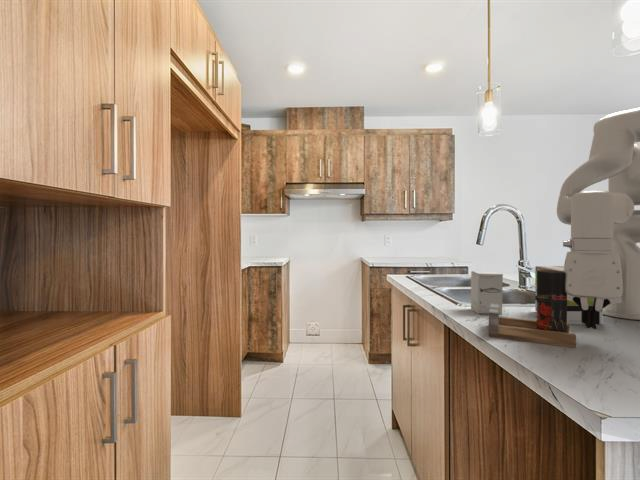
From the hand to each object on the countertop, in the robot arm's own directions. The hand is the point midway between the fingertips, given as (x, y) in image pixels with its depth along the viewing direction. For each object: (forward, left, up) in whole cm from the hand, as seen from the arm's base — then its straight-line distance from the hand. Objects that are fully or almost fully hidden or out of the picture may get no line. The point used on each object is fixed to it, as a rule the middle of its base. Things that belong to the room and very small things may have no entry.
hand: (590, 326), depth 76 cm
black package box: (0, -7, -3) cm, 8 cm away
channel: (0, -12, -4) cm, 12 cm away
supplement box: (-22, -22, -4) cm, 32 cm away
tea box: (-25, -1, -4) cm, 25 cm away
